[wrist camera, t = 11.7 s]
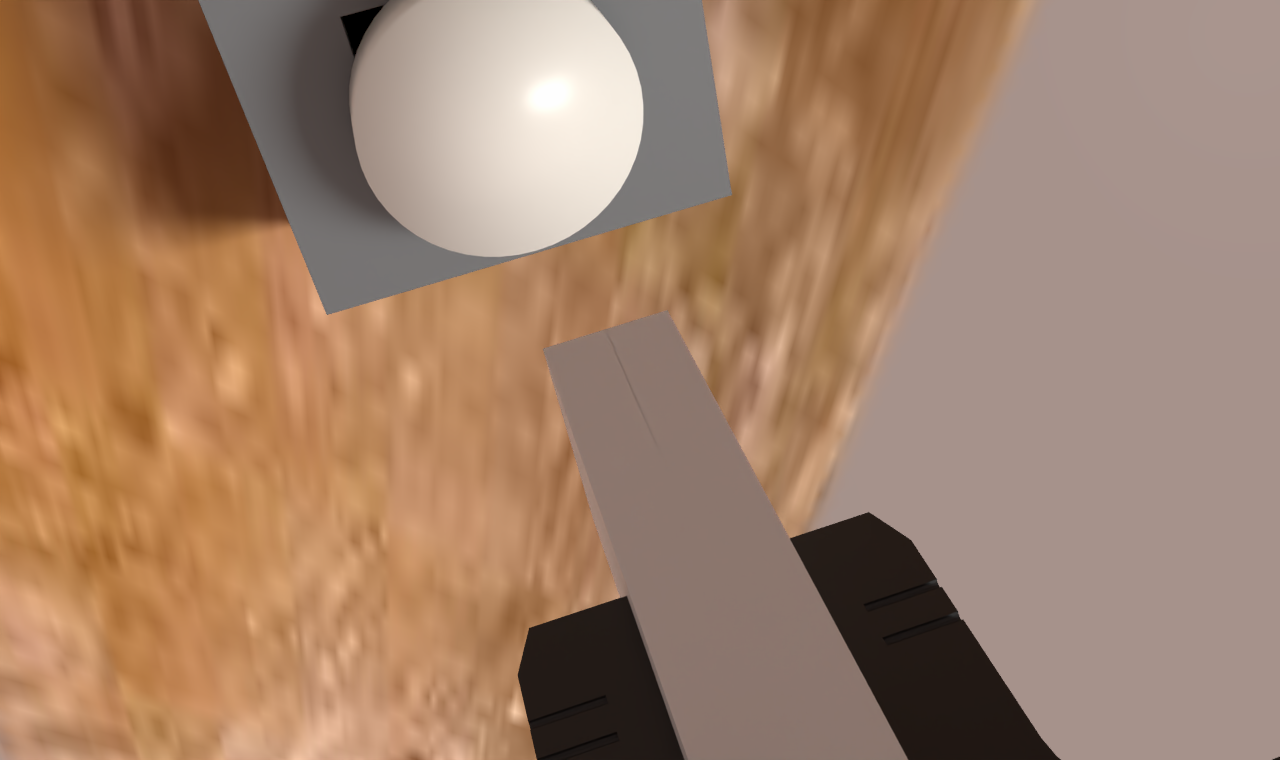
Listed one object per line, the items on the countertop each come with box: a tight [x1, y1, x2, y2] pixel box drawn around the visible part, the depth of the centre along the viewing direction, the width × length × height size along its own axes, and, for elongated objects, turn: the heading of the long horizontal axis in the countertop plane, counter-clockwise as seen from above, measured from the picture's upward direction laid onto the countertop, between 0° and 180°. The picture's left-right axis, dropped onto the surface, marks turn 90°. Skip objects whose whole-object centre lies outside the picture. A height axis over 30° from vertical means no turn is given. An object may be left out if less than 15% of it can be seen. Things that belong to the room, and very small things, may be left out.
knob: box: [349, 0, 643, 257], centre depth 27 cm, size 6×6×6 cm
